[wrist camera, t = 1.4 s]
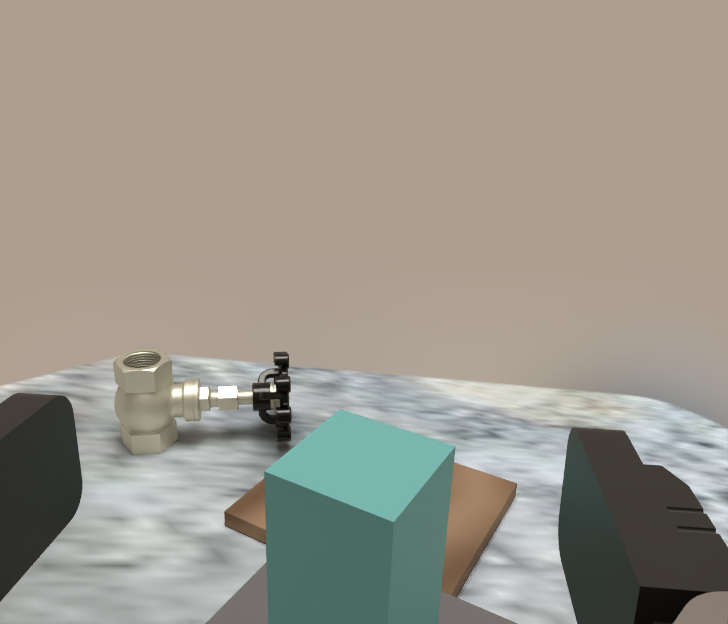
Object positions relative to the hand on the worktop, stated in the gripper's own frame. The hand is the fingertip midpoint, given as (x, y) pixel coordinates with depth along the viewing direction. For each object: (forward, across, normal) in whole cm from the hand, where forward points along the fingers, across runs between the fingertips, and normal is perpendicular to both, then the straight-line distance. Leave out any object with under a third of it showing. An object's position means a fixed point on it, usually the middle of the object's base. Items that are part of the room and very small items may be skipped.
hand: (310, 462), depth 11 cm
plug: (+10, 0, +20) cm, 23 cm away
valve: (+33, +14, +19) cm, 41 cm away
